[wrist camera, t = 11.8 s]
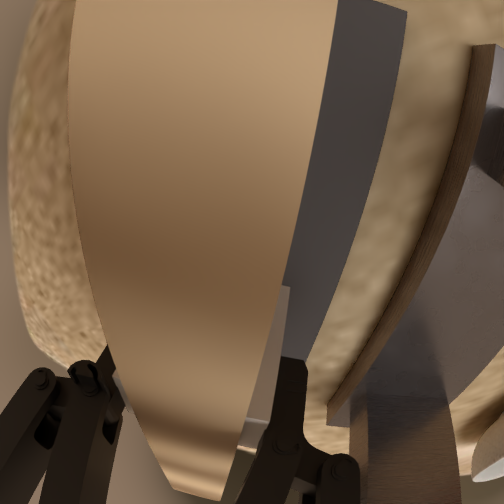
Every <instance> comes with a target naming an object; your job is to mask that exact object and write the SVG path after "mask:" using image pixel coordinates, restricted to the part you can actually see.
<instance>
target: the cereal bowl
mask: <svg viewBox="0 0 504 504" xmlns="http://www.w3.org/2000/svg"><path fill="white" fill-rule="evenodd" d="M471 470H472V472H471V473H472V480H473V481H474V482H482V481H488V480H492V479H495V478H499V477H502V476H504V411H503V413H502V414H501V415H500V417H499V419H498V420H497V421H495V422H494V423H493V424H492V425H491V426H490V427H489V428H488V429H487V430H486V432H485V433H484V434H483V435H482V437H481V438H480V439H479V441H478V443H477V445H476V447H475V450H474V453H473V456H472V468H471Z"/></svg>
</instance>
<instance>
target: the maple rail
mask: <svg viewBox="0 0 504 504" xmlns="http://www.w3.org/2000/svg"><path fill="white" fill-rule="evenodd" d="M337 4H338V0H76V4H75V11H74V18H73V25H72V33H71V43H70V55H69V70H68V137H69V154H70V166H71V177H72V186H73V194H74V202H75V209H76V215H77V222H78V228H79V233H80V239H81V244H82V249H83V254H84V259H85V263H86V268H87V272H88V277H89V281H90V285H91V289H92V293H93V297H94V300H95V304H96V308H97V311H98V315H99V318H100V321H101V325H102V328H103V331H104V334H105V337H106V341H107V344H108V347H109V350H110V352H111V355H112V358H113V361H114V364H115V366H116V369H117V372H118V375H119V377H120V380H121V382H122V385H123V387H124V390H125V392H126V395H127V397H128V400H129V402H130V404H131V407H132V409H133V411H134V414H135V415H136V418H137V420H138V422H139V425H140V427H141V429H142V431H143V433H144V435H145V437H146V439H147V441H148V443H149V445H150V447H151V449H152V451H153V453H154V455H155V457H156V459H157V461H158V463H159V464H160V466H161V468H162V470H163V472H164V473H165V475H166V477H167V479H168V480H169V482H170V484H171V486H172V487H173V489H176V490H179V491H182V492H186V493H189V494H192V495H196V496H200V497H204V498H208V499H212V500H216V501H220V499H221V496H222V493H223V490H224V487H225V484H226V480H227V477H228V474H229V471H230V468H231V465H232V462H233V458H234V455H235V452H236V449H237V445H238V442H239V439H240V435H241V432H242V429H243V425H244V422H245V418H246V415H247V412H248V408H249V405H250V401H251V398H252V394H253V391H254V387H255V383H256V380H257V376H258V373H259V369H260V365H261V362H262V358H263V354H264V351H265V347H266V343H267V339H268V335H269V332H270V328H271V324H272V320H273V316H274V312H275V308H276V304H277V300H278V296H279V292H280V288H281V284H282V280H283V276H284V272H285V268H286V264H287V260H288V255H289V251H290V247H291V243H292V238H293V234H294V230H295V225H296V221H297V216H298V212H299V207H300V203H301V198H302V194H303V189H304V185H305V180H306V175H307V170H308V166H309V161H310V156H311V151H312V146H313V141H314V136H315V131H316V126H317V121H318V116H319V110H320V105H321V100H322V94H323V89H324V83H325V78H326V72H327V66H328V61H329V55H330V49H331V43H332V37H333V30H334V24H335V17H336V11H337Z"/></svg>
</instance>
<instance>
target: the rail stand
mask: <svg viewBox="0 0 504 504" xmlns="http://www.w3.org/2000/svg"><path fill="white" fill-rule="evenodd" d="M503 346H504V49H503V48H502V47H500V46H499V45H497V44H485V45H474V46H473V51H472V58H471V65H470V71H469V77H468V83H467V88H466V93H465V98H464V102H463V107H462V111H461V115H460V120H459V124H458V128H457V131H456V135H455V139H454V142H453V146H452V150H451V153H450V156H449V160H448V163H447V166H446V169H445V172H444V175H443V178H442V181H441V184H440V187H439V190H438V193H437V196H436V198H435V201H434V204H433V207H432V209H431V212H430V214H429V217H428V220H427V222H426V225H425V227H424V230H423V232H422V234H421V237H420V239H419V241H418V244H417V246H416V248H415V251H414V253H413V255H412V257H411V260H410V262H409V264H408V266H407V268H406V270H405V273H404V275H403V277H402V279H401V281H400V283H399V285H398V287H397V289H396V291H395V293H394V295H393V297H392V299H391V301H390V303H389V305H388V307H387V308H386V310H385V312H384V314H383V316H382V318H381V320H380V321H379V323H378V325H377V327H376V329H375V330H374V332H373V334H372V336H371V337H370V339H369V341H368V342H367V344H366V346H365V348H364V349H363V351H362V353H361V354H360V356H359V357H358V359H357V361H356V362H355V364H354V366H353V367H352V369H351V370H350V372H349V373H348V375H347V376H346V378H345V380H344V381H343V383H342V384H341V386H340V387H339V389H338V390H337V392H336V393H335V394H334V396H333V397H332V399H331V400H330V402H329V403H328V405H327V422H326V425H328V426H338V427H349V428H350V444H349V455H350V456H351V457H353V458H355V460H356V461H357V462H358V464H359V468H360V504H461V487H460V476H459V466H458V458H457V450H456V443H455V437H454V431H453V425H452V419H451V414H450V409H449V404H450V403H451V402H452V401H453V400H454V399H455V398H456V397H458V396H459V395H460V394H461V393H462V392H463V391H464V390H465V389H466V388H467V386H468V385H469V384H470V383H471V382H472V381H473V380H474V379H475V378H476V377H477V376H478V375H479V374H480V373H481V372H482V370H483V369H484V368H485V367H486V366H487V365H488V364H489V363H490V361H491V360H492V359H493V358H494V357H495V355H496V354H497V353H498V352H499V351H500V349H501V348H502V347H503Z"/></svg>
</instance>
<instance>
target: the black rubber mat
mask: <svg viewBox="0 0 504 504" xmlns="http://www.w3.org/2000/svg"><path fill="white" fill-rule="evenodd" d="M406 19H407V11H404V10H401V9H398V8H395V7H392V6H389V5H386V4H383V3H380V2H377V1H373V0H338V4H337V11H336V17H335V24H334V30H333V37H332V43H331V49H330V55H329V61H328V66H327V72H326V78H325V83H324V89H323V94H322V100H321V105H320V110H319V116H318V121H317V126H316V131H315V136H314V141H313V146H312V151H311V156H310V161H309V166H308V170H307V175H306V180H305V185H304V189H303V194H302V198H301V203H300V207H299V212H298V216H297V221H296V225H295V230H294V234H293V238H292V243H291V247H290V251H289V255H288V260H287V264H286V268H285V272H284V276H283V280H282V284H281V285H283V286H288V287H290V293H289V301H288V308H287V315H286V323H285V330H284V337H283V343H282V350H281V356H284V357H289V358H295V359H300V360H304V362H306V360H307V358H308V355H309V353H310V351H311V349H312V346H313V344H314V342H315V339H316V337H317V335H318V332H319V330H320V328H321V325H322V323H323V320H324V318H325V315H326V313H327V310H328V308H329V305H330V303H331V300H332V298H333V295H334V293H335V290H336V287H337V285H338V282H339V279H340V277H341V274H342V271H343V269H344V266H345V263H346V260H347V257H348V255H349V252H350V249H351V246H352V243H353V240H354V237H355V234H356V231H357V228H358V225H359V222H360V219H361V216H362V213H363V210H364V206H365V203H366V200H367V197H368V193H369V190H370V186H371V183H372V180H373V176H374V173H375V169H376V165H377V162H378V158H379V154H380V150H381V147H382V143H383V139H384V135H385V131H386V126H387V122H388V118H389V114H390V109H391V105H392V100H393V95H394V91H395V86H396V81H397V75H398V70H399V65H400V59H401V53H402V47H403V41H404V34H405V27H406Z"/></svg>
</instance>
